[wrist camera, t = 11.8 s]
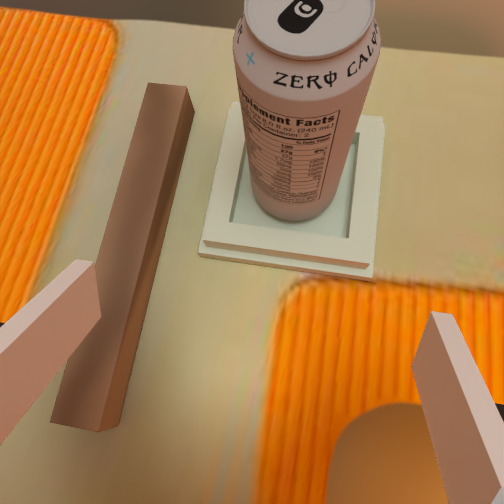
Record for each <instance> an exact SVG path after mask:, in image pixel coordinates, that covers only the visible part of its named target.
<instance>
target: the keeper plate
mask: <svg viewBox="0 0 504 504" xmlns="http://www.w3.org/2000/svg"><path fill="white" fill-rule="evenodd" d="M382 123H383V117H380V116H370V115H360V118H359V121H358V124H357V128H356V131H355V134H354V137H353V140H352V144H351V147H350V150H349V153H348V156H347V159H346V163H345V166H344V169H343V172H342V175H341V179H340V182H339V185H338V188H337V191H336V194H335V197H334V199H333V200H332V202H331V203H330V205H329V206H328V207H327V208H326V209H325V210H324V211H323V212H321V213H320V214H318V215H317V216H314V217H312V218H310V219H306V220H301V221H289V220H283V219H280V218H277V217H275V216H273V215H271V214H269V213H268V212H267V211H265V210H264V209H263V208H262V207H261V206H260V204H259V203H258V202H257V200H256V198H255V196H254V194H253V190H252V185H251V178H250V170H249V163H248V156H247V149H246V142H245V134H244V127H243V120H242V113H241V105H240V102H234V101H232V105H231V108H229V111H228V116H227V120H226V125H225V130H224V134H223V139H222V143H221V148H220V153H219V157H218V162H217V167H216V171H215V176H214V180H213V185H212V190H211V194H210V199H209V204H208V208H207V213H206V218H205V222H204V227H203V231H202V236H201V241H200V245H199V250H198V253H199V255H200V256H201V257H207V258H214V259H220V260H227V261H234V262H241V263H248V264H255V265H261V266H268V267H275V268H282V269H289V270H295V271H302V272H309V273H316V274H323V275H330V276H336V277H343V278H350V279H357V280H364V281H370V280H371V279H372V275H373V263H374V251H375V240H376V228H377V216H378V204H379V192H380V181H381V169H382V157H383V145H384V134H385V124H382Z"/></svg>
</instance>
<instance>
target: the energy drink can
mask: <svg viewBox="0 0 504 504" xmlns="http://www.w3.org/2000/svg"><path fill="white" fill-rule="evenodd" d="M374 11H375V0H245V2H244V13H243V15H242V16H241V18H240V20H239V22H238V24H237V26H236V29H235V33H234V37H233V55H234V62H235V69H236V77H237V84H238V91H239V98H240V105H241V113H242V120H243V127H244V134H245V142H246V149H247V156H248V163H249V170H250V178H251V185H252V190H253V194H254V196H255V198H256V200H257V202H258V203H259V204H260V206H261V207H262V208H263V209H264V210H265V211H267V212H268V213H269V214H271V215H273V216H275V217H277V218H280V219H283V220H289V221H301V220H306V219H310V218H312V217H314V216H317V215H318V214H320V213H321V212H323V211H324V210H325V209H326V208H327V207H328V206H329V205H330V203H331V202H332V200H333V199H334V197H335V194H336V191H337V188H338V185H339V182H340V179H341V175H342V172H343V169H344V166H345V163H346V159H347V156H348V153H349V150H350V147H351V144H352V140H353V137H354V134H355V131H356V128H357V124H358V121H359V118H360V115H361V112H362V108H363V105H364V102H365V99H366V96H367V92H368V89H369V86H370V83H371V80H372V77H373V73H374V70H375V67H376V64H377V61H378V57H379V54H380V46H381V39H380V31H379V28H378V25H377V22H376V20H375V17H374Z"/></svg>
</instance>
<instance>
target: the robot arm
mask: <svg viewBox="0 0 504 504" xmlns="http://www.w3.org/2000/svg"><path fill="white" fill-rule="evenodd" d="M100 318H101V311H100V303H99V296H98V288H97V281H96V274H95V266H94V262H91V261H84V260H77V259H76V260H75V261H73V262H72V263H71V264H70V265H69V266H68V267H67V268H66V269H65V270H64V271H62V272H61V273H60V274H59V275H58V276H57V277H56V278H55V279H54V280H52V281H51V282H50V283H49V284H48V285H47V286H46V287H45V288H44V289H42V290H41V291H40V292H39V293H38V294H37V295H36V296H35V297H34V298H33V299H31V300H30V301H29V302H28V303H27V304H26V305H25V306H24V307H23V308H21V309H20V310H19V311H18V312H17V313H16V314H15V315H14V316H13V317H11V318H10V319H9V320H8V321H7V322H6V323H1V322H0V445H1V443H2V442H3V441H4V440H5V438H6V437H7V436H8V434H9V433H10V432H11V431H12V429H13V428H14V427H15V426H16V424H17V423H18V422H19V421H20V419H21V418H22V417H23V415H24V414H25V413H26V412H27V410H28V409H29V408H30V407H31V405H32V404H33V403H34V401H35V400H36V399H37V398H38V396H39V395H40V394H41V393H42V391H43V390H44V389H45V388H46V386H47V385H48V384H49V382H50V381H51V380H52V379H53V377H54V376H55V375H56V374H57V372H58V371H59V370H60V369H61V367H62V366H63V365H64V363H65V362H66V361H67V360H68V358H69V357H70V356H71V355H72V353H73V352H74V351H75V349H76V348H77V347H78V346H79V344H80V343H81V342H82V341H83V339H84V338H85V337H86V336H87V334H88V333H89V332H90V330H91V329H92V328H93V327H94V325H95V324H96V323H97V322H98V320H99V319H100ZM411 367H412V371H413V374H414V378H415V382H416V385H417V389H418V393H419V396H420V400H421V404H422V407H423V411H424V414H425V418H426V422H427V425H428V429H429V433H430V436H431V440H432V444H433V447H434V451H435V455H436V458H437V462H438V466H439V469H440V473H441V477H442V480H443V484H444V488H445V491H446V495H447V498H448V502H449V504H504V405H502V404H496V403H494V401H493V399H492V397H491V395H490V392H489V390H488V388H487V386H486V384H485V382H484V380H483V378H482V376H481V373H480V371H479V369H478V367H477V365H476V363H475V361H474V359H473V357H472V354H471V352H470V350H469V348H468V346H467V344H466V342H465V340H464V338H463V335H462V333H461V331H460V329H459V327H458V325H457V323H456V321H455V319H454V316H453V314H447V313H440V312H433V311H431V313H430V316H429V318H428V321H427V324H426V327H425V330H424V332H423V335H422V338H421V341H420V343H419V346H418V349H417V352H416V355H415V357H414V360H413V363H412V366H411Z"/></svg>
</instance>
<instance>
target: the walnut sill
mask: <svg viewBox="0 0 504 504" xmlns="http://www.w3.org/2000/svg"><path fill="white" fill-rule="evenodd" d="M194 112H195V111H194V108H193V105H192V102H191V99H190V96H189V92H188V89H187V87H186V86H176V85H166V84H156V83H148V85H147V88H146V92H145V95H144V99H143V102H142V106H141V109H140V112H139V116H138V119H137V123H136V126H135V130H134V133H133V137H132V140H131V144H130V147H129V150H128V154H127V157H126V161H125V164H124V168H123V171H122V175H121V178H120V182H119V185H118V188H117V192H116V195H115V199H114V202H113V206H112V209H111V213H110V216H109V220H108V223H107V226H106V230H105V233H104V237H103V240H102V244H101V247H100V251H99V254H98V257H97V261H96V264H95V274H96V281H97V288H98V296H99V303H100V311H101V318H100V319H99V320H98V322H97V323H96V324H95V325H94V327H93V328H92V329H91V330H90V332H89V333H88V334H87V336H86V337H85V338H84V339H83V341H82V342H81V343H80V344H79V346H78V347H77V348H76V349H75V351H74V352H73V353H72V355H71V356H70V357H69V358H68V361H67V365H66V368H65V371H64V375H63V378H62V382H61V385H60V389H59V392H58V396H57V399H56V402H55V406H54V409H53V413H52V416H51V420H50V422H51V423H56V424H61V425H66V426H71V427H76V428H81V429H86V430H91V431H96V432H100V431H103V430H106V429H109V428H113V427H116V426H118V424H119V420H120V416H121V412H122V408H123V403H124V399H125V395H126V391H127V387H128V383H129V379H130V375H131V371H132V367H133V362H134V358H135V354H136V350H137V346H138V342H139V338H140V334H141V330H142V326H143V321H144V317H145V313H146V309H147V305H148V301H149V297H150V293H151V289H152V285H153V280H154V276H155V272H156V268H157V264H158V260H159V256H160V252H161V248H162V244H163V240H164V235H165V231H166V227H167V223H168V219H169V215H170V211H171V207H172V203H173V199H174V194H175V190H176V186H177V182H178V178H179V174H180V170H181V166H182V162H183V158H184V153H185V149H186V145H187V141H188V137H189V133H190V129H191V125H192V121H193V117H194Z"/></svg>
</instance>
